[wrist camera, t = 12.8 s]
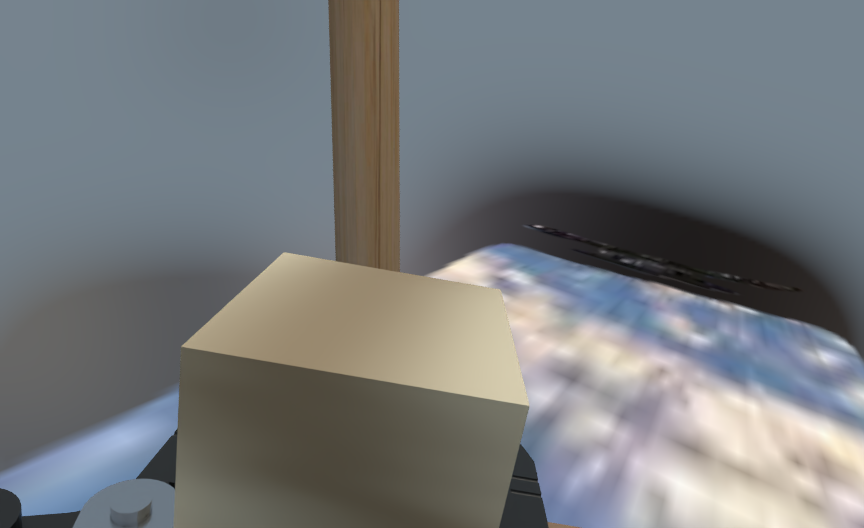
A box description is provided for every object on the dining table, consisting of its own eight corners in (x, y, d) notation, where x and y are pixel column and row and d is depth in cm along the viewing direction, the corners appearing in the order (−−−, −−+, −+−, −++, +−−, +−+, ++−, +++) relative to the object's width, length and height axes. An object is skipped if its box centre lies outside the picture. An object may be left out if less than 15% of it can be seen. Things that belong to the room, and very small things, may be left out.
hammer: (235, 398, 41) (204, -41, 35) (284, 375, 45) (263, -20, 39) (481, 478, 31) (499, -106, 25) (513, 439, 36) (536, -70, 29)
